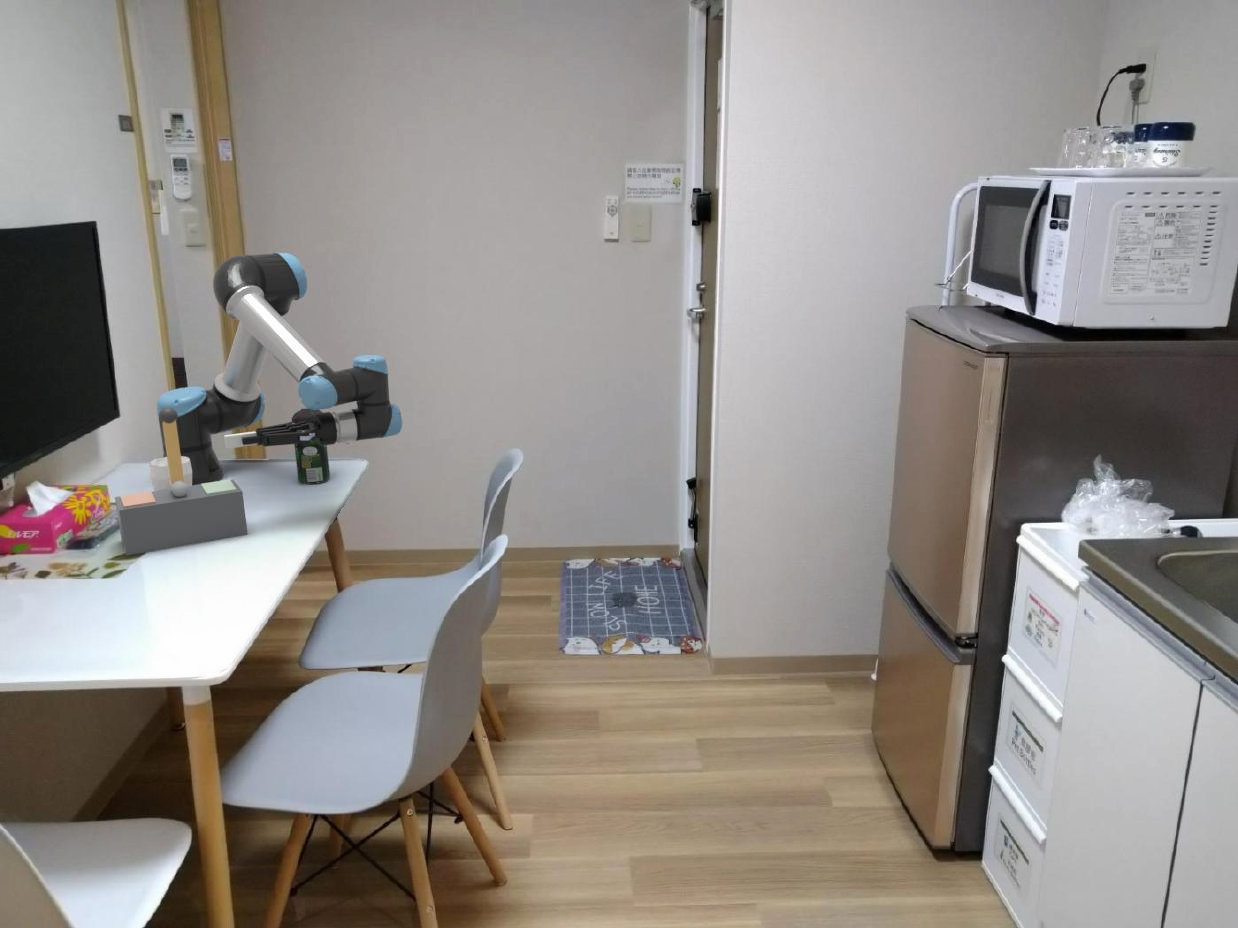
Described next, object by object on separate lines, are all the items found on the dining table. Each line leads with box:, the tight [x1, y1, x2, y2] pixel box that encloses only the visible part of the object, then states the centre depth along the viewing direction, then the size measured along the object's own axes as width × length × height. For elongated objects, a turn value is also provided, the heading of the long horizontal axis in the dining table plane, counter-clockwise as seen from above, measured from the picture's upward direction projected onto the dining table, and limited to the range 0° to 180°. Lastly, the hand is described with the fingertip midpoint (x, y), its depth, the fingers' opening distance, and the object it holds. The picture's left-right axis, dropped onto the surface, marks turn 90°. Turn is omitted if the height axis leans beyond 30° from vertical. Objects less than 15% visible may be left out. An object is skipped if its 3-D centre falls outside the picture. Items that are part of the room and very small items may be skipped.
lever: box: [158, 407, 188, 497], centre depth 201 cm, size 6×4×19 cm, turn 32°
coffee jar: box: [291, 407, 331, 484], centre depth 245 cm, size 10×8×19 cm
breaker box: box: [114, 479, 248, 557], centre depth 205 cm, size 10×24×10 cm, turn 122°
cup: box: [148, 456, 192, 491], centre depth 223 cm, size 9×9×12 cm
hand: (225, 442), depth 206 cm, fingers closed
